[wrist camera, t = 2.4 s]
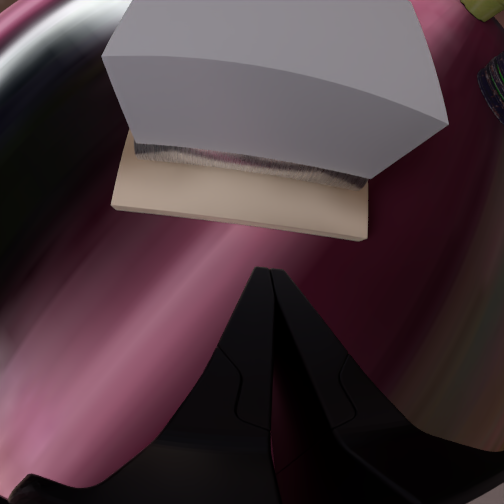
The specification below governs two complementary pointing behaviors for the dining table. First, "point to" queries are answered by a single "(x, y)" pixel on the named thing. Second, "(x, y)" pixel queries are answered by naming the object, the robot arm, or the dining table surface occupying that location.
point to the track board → (238, 197)
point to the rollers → (248, 164)
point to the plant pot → (484, 8)
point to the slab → (278, 79)
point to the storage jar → (493, 85)
